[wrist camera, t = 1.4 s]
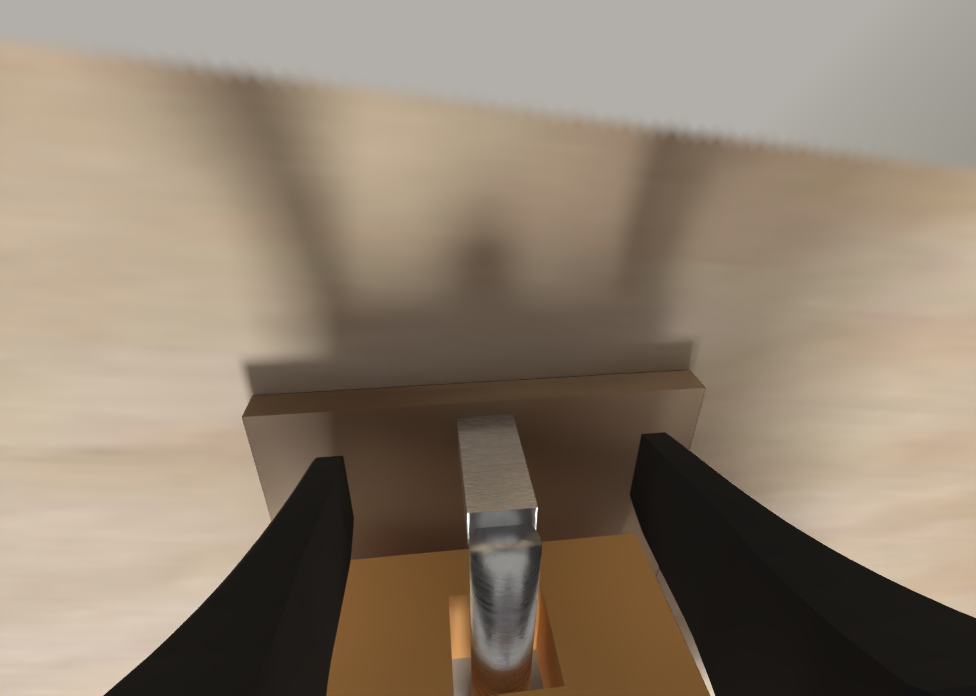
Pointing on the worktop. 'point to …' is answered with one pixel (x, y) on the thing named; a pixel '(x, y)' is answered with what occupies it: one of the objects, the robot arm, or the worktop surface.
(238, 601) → the robot arm
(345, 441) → the walnut board
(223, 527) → the worktop surface
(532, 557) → the metal rod
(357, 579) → the collar
